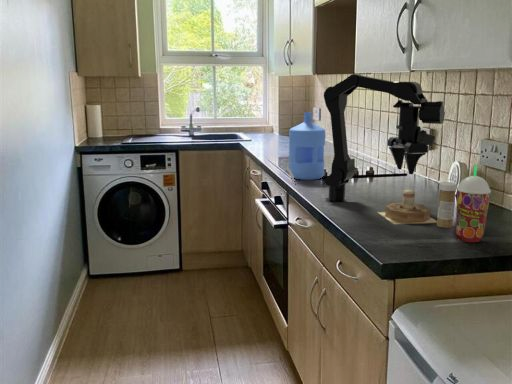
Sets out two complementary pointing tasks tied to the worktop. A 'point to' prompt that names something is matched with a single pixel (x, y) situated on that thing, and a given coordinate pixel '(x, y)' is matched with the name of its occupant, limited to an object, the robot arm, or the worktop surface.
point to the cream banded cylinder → (408, 199)
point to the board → (405, 222)
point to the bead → (407, 213)
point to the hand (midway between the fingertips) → (405, 171)
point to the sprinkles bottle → (446, 204)
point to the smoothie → (472, 208)
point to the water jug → (306, 150)
